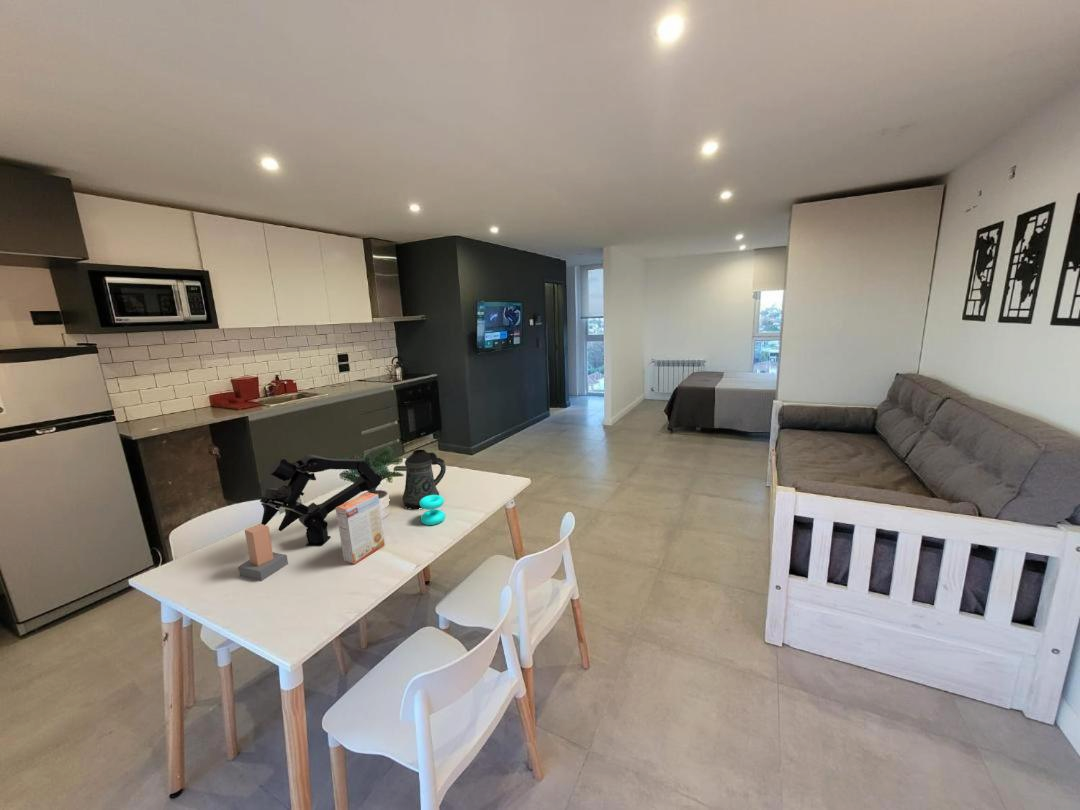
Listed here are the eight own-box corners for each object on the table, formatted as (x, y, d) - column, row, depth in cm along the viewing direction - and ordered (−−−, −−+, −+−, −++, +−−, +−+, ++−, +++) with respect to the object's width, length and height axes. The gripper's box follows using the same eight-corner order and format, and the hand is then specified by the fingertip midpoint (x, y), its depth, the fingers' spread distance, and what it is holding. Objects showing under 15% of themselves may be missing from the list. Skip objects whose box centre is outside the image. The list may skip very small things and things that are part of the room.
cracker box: (374, 542, 160) (368, 491, 155) (385, 545, 157) (379, 493, 153) (342, 561, 147) (334, 506, 143) (354, 565, 145) (346, 509, 140)
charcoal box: (267, 560, 150) (265, 550, 149) (288, 565, 147) (286, 554, 146) (239, 577, 140) (237, 566, 140) (262, 582, 137) (260, 571, 136)
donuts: (417, 496, 176) (441, 492, 180) (419, 517, 178) (443, 513, 182) (420, 505, 167) (445, 501, 171) (422, 528, 169) (447, 523, 173)
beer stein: (397, 502, 194) (391, 451, 189) (434, 490, 207) (430, 442, 202) (412, 513, 182) (407, 459, 177) (451, 500, 195) (447, 449, 190)
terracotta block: (265, 555, 146) (260, 523, 144) (273, 558, 144) (268, 526, 141) (250, 562, 142) (244, 529, 139) (258, 566, 139) (252, 532, 137)
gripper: (260, 474, 150) (233, 516, 142) (295, 481, 142) (269, 525, 134) (285, 486, 158) (260, 526, 151) (319, 493, 151) (295, 536, 143)
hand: (270, 528), depth 144 cm, fingers open, 9 cm apart
